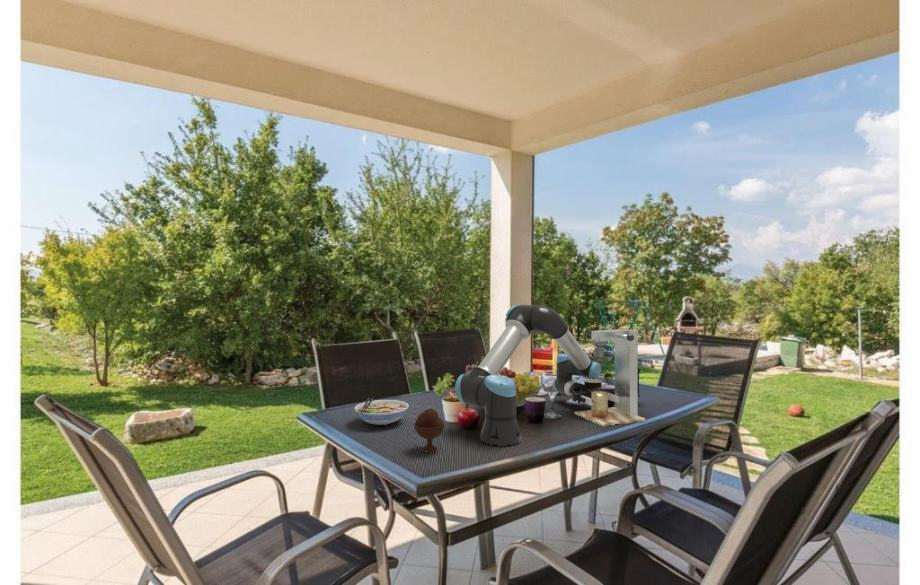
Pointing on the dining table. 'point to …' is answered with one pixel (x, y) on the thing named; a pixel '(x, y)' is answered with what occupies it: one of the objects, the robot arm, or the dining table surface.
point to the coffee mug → (592, 384)
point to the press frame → (622, 366)
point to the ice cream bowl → (429, 427)
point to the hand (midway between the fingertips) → (604, 400)
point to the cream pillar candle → (599, 404)
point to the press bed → (610, 417)
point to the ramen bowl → (381, 411)
